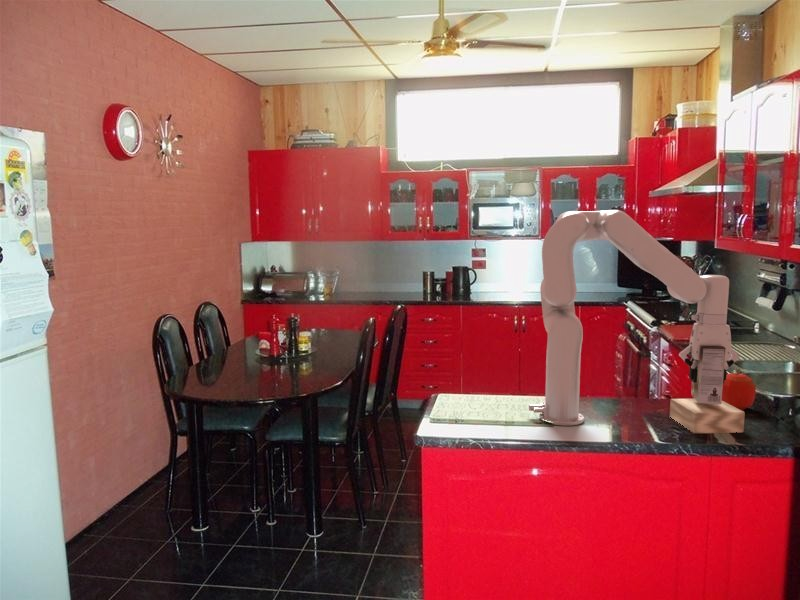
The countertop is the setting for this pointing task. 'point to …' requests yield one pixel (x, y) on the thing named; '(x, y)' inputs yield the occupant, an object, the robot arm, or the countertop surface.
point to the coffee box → (709, 375)
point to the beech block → (707, 416)
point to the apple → (738, 391)
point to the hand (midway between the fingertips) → (707, 381)
